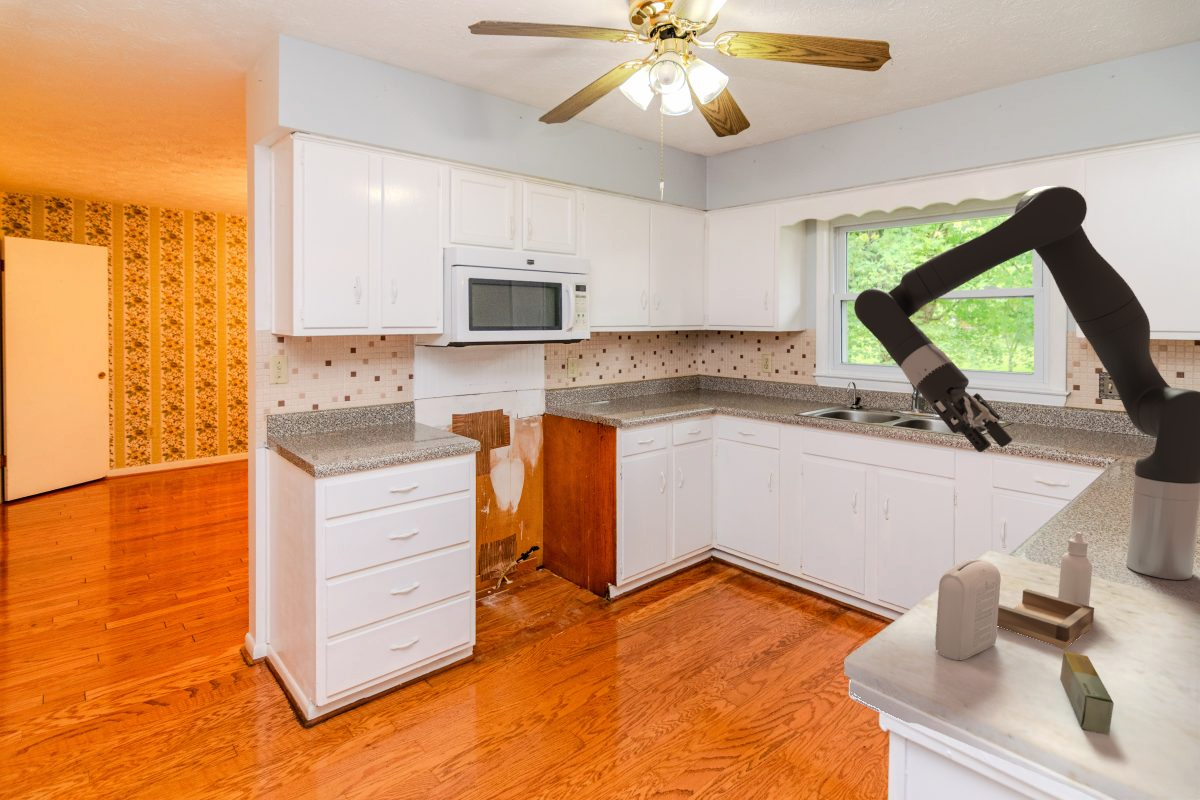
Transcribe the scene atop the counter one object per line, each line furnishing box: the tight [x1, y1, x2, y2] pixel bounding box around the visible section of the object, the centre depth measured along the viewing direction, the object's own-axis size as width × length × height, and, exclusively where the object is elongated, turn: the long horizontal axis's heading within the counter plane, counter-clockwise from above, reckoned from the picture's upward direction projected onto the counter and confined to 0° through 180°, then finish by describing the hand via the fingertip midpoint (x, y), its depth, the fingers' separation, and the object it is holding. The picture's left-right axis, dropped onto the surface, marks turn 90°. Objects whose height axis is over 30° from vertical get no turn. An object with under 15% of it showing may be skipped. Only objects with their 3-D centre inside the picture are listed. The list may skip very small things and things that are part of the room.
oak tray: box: [997, 588, 1095, 650], centre depth 99 cm, size 11×9×3 cm
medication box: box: [1059, 650, 1114, 735], centre depth 78 cm, size 12×3×4 cm, turn 156°
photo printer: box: [934, 558, 1002, 661], centre depth 91 cm, size 10×4×12 cm, turn 123°
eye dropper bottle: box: [1057, 531, 1093, 606], centre depth 105 cm, size 4×6×12 cm
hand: (997, 446), depth 113 cm, fingers open, 8 cm apart
